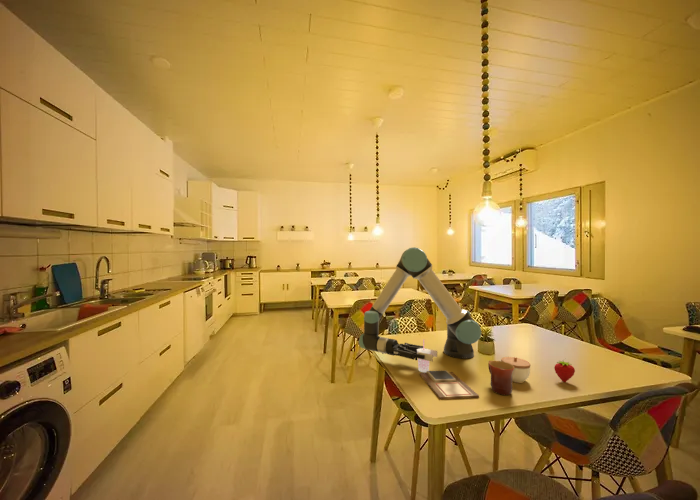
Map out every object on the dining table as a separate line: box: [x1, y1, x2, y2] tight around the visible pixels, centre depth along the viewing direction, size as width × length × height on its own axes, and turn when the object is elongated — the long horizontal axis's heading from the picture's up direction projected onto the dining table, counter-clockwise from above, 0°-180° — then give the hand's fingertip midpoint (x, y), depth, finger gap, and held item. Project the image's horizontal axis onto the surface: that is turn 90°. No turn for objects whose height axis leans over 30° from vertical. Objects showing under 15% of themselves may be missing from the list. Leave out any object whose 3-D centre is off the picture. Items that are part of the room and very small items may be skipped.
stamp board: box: [419, 369, 480, 400], centre depth 111 cm, size 15×21×2 cm
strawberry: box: [553, 358, 576, 383], centre depth 116 cm, size 6×8×10 cm
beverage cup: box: [417, 339, 431, 373], centre depth 126 cm, size 6×6×14 cm
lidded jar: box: [500, 356, 531, 384], centre depth 118 cm, size 11×11×9 cm
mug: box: [488, 360, 515, 396], centre depth 108 cm, size 12×9×10 cm
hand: (434, 356), depth 123 cm, fingers closed on beverage cup, 6 cm apart
